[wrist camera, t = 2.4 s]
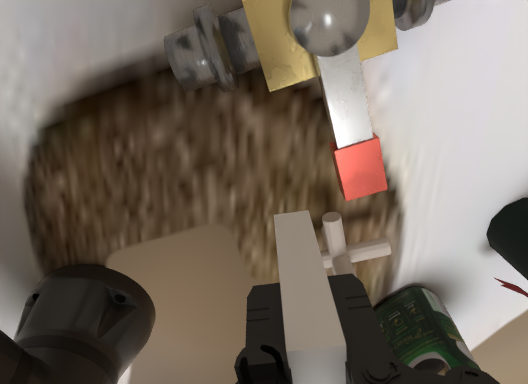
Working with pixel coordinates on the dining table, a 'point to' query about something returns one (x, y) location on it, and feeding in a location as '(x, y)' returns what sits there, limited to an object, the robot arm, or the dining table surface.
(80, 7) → the dining table surface
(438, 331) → the coffee jar
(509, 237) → the wine bottle
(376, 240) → the pipe connector
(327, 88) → the lever
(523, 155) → the dining table surface
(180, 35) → the pipe
